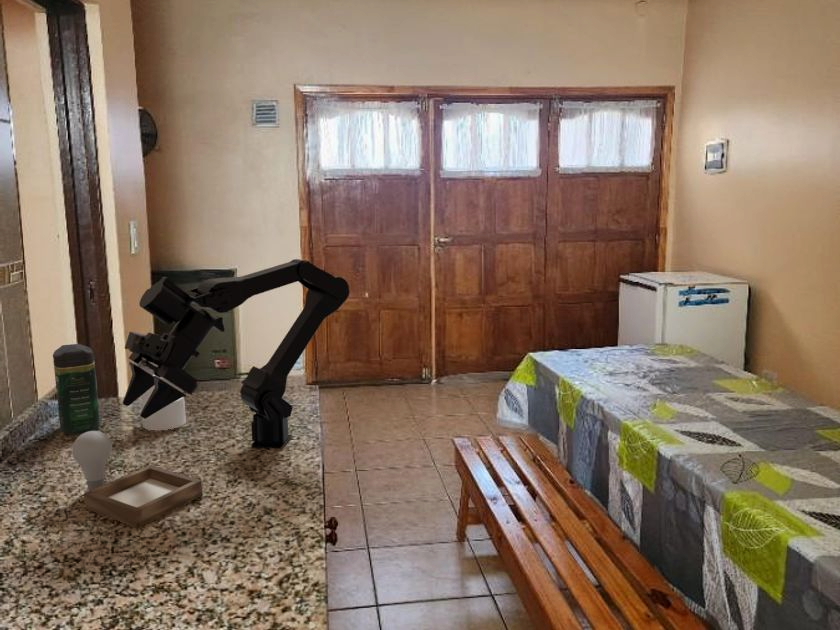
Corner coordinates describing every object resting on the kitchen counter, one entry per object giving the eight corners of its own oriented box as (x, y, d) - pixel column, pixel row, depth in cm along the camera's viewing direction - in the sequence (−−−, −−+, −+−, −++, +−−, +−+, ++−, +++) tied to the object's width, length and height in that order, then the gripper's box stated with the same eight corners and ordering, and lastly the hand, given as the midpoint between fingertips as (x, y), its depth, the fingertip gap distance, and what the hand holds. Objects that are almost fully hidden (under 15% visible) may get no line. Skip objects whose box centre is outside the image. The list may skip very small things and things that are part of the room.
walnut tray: (152, 479, 123) (150, 465, 122) (202, 495, 116) (201, 480, 116) (85, 509, 112) (83, 493, 111) (137, 528, 105) (135, 511, 105)
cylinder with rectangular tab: (170, 414, 158) (166, 364, 156) (194, 422, 153) (190, 370, 150) (134, 425, 151) (130, 373, 148) (158, 433, 146) (154, 380, 143)
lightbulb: (123, 488, 119) (118, 428, 117) (94, 502, 114) (87, 440, 112) (99, 482, 122) (93, 423, 120) (69, 496, 116) (62, 435, 114)
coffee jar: (103, 431, 147) (95, 348, 144) (62, 438, 143) (52, 353, 140) (98, 418, 155) (90, 339, 152) (59, 424, 151) (50, 343, 148)
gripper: (132, 307, 127) (79, 377, 123) (170, 321, 113) (111, 401, 109) (179, 338, 134) (130, 406, 129) (220, 356, 120) (166, 432, 115)
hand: (133, 410), depth 120 cm, fingers open, 9 cm apart
